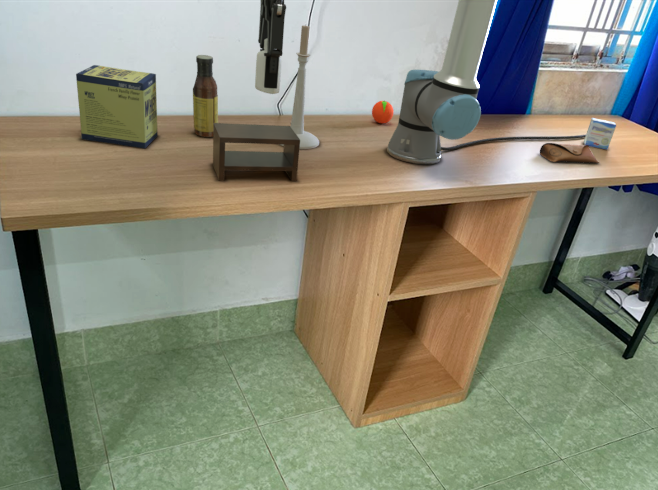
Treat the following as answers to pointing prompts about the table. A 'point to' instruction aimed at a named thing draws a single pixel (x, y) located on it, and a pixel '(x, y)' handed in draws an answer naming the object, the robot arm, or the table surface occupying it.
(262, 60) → the eye dropper bottle
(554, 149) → the sunglasses case
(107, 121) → the protein box
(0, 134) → the table surface
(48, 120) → the table surface
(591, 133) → the medicine box
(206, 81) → the sauce bottle
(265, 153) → the dark brown wooden stand
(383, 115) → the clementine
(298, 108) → the candlestick
